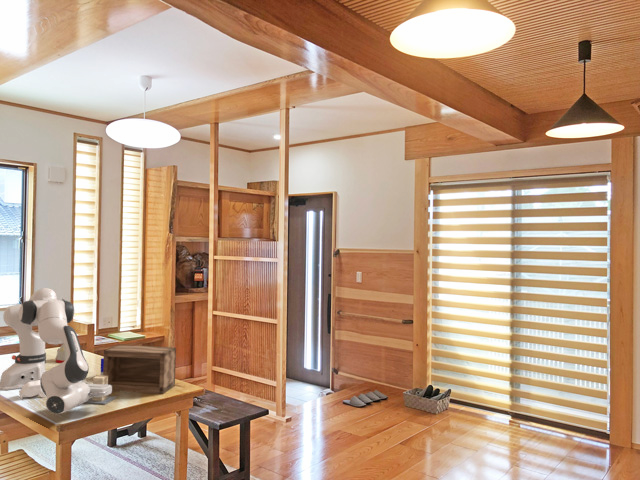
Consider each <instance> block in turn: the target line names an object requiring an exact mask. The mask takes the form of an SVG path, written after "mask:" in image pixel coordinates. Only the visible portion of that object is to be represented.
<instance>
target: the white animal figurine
mask: <svg viewBox="0 0 640 480" xmlns="http://www.w3.org/2000/svg"><path fill="white" fill-rule="evenodd" d="M18 393H19V394H18V395H19V397H20V399H21V400H22V401H23V398H32V397H36V396H39V397H41V398H45V399H46V398H47V396H46V395H45V394H44V393H43V391H42V389H41V385H40V380H37V381H32V382H28V383H26V384H25V385H24V386H23V387H22V388H20V390H19V391H18Z"/></svg>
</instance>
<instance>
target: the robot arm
mask: <svg viewBox="0 0 640 480" xmlns="http://www.w3.org/2000/svg"><path fill="white" fill-rule="evenodd" d="M2 316H3V321H4V323H5V324H6V326H8V327H10V328H11V329H13V330H14V332H15V333H16V334H17V336H18V342H19V354H18V355H15V354H13V355H11V359H12V360H13V361H14V363H12V364H11V365H10V366H9V367H8V368H6V369H5V370H3V372H2V373H1V375H0V390H1V391H9V390H17V389H22V387H23V386H24V385H25V384H26V383H28V382H32V381H37V380H40V385H41V389H42V391H43V393H44V394H45V395H46V398H45V399H46V400H45V406H46V408H47V410H48V411H49V412H50V413H52V414H57V415H58V414H63V413H67V412H69V411H71V410H73V409H74V408H76V407H79V406H81V405H82V404H85V402H86V401H87V400H88V399H90V398H92V397H104V396H110V395H111V394H112V392H113V391H112V386H111V385H108V384H93V383H88V382H83V380H85V379H86V378H87V377H88V374H89V370H90V366H89V363H88V362H87V360H86V358H85V356H84V354H83V353H84V352H83V350H82V347H81V344H80V340H79V338H78V335H77V332H76V330H75V329H74V328H73V327H72V326H70V325H69V323H71V322H72V321H73V319H74V317H75V307H74V304H73V303H72V302H71V301H68V300H66V299H64V298H62V299H58V297H57V293H56V292H55V291H54V290H53V289H52V288H48V287H43V288H40V289H37V291H34V293H33V294H32V295H31V296H30V298H29V299H28V300H25V301H23V303H19V304H14V305H10V306H8V307H7V308H5V310H4V312H3V315H2ZM33 327H37V331H35V330H33ZM63 343H65V347H66V350H67V354H68V357H67V359H66V360H65V361H64V362H62V363H58V364H57V365H55V366H53V367H52V368H50V369H48V370H46V362H47V353H46V344H48V345H56V346H57V345H62V344H63Z"/></svg>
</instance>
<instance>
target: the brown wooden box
mask: <svg viewBox="0 0 640 480" xmlns="http://www.w3.org/2000/svg"><path fill="white" fill-rule="evenodd" d="M176 355H177V347H172V346H171V347H170V346H169V347H167V346H152V345H151V346H149V345H133V344H132V345H130V344H128V345H127V344H117V345H115V346H111V347H110V348H106V349H103V358H104V365H103V376H108V385H111V386H112V392H121V391H122V392H123V393H124V392H125V393H138V394H139V393H140V394H141V393H142V394H154V395H155V394H156V395H157V394H159V395H164V394H166V393H167V392H169V391H170V390H172V389H173V388H174V387H176V362H177V361H176V359H177V356H176Z"/></svg>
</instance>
